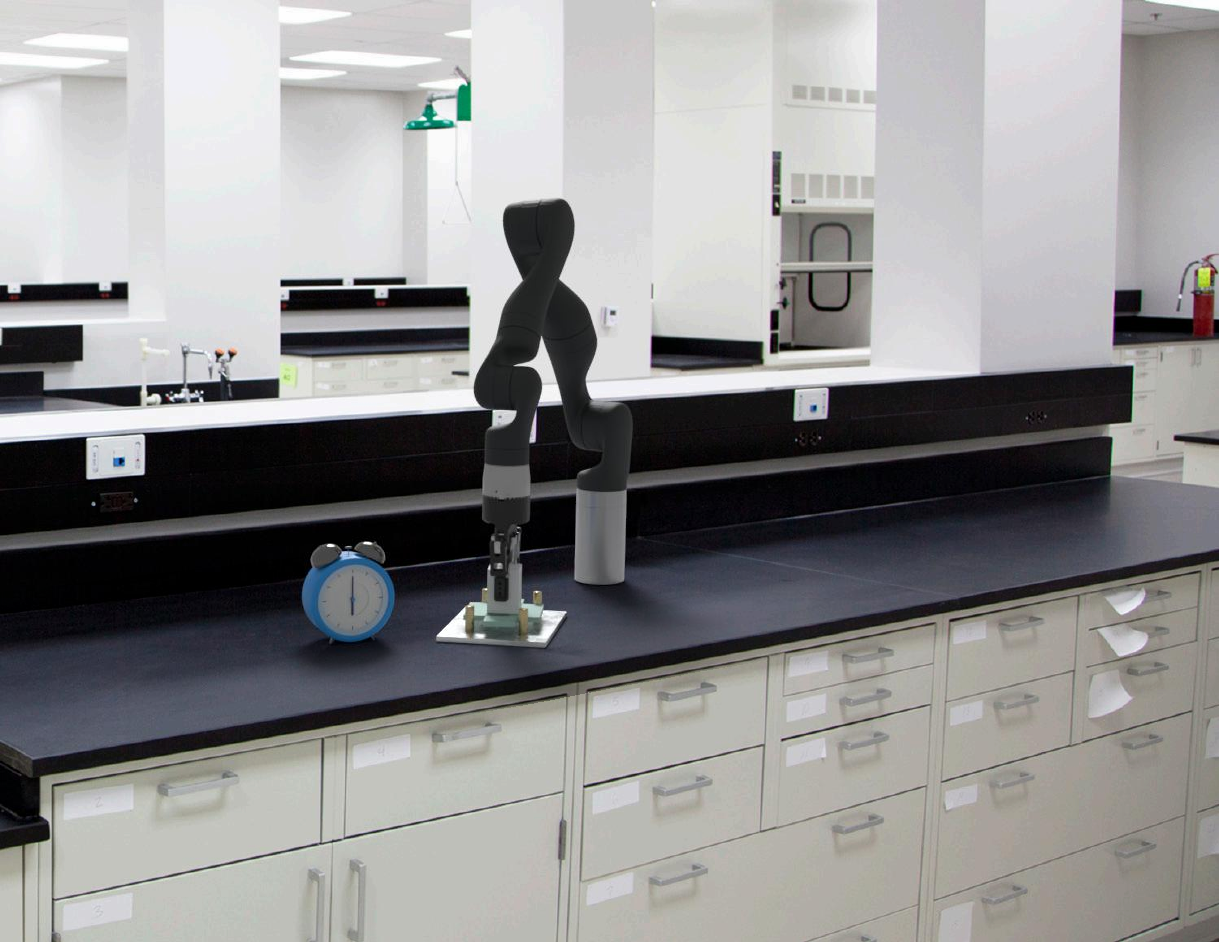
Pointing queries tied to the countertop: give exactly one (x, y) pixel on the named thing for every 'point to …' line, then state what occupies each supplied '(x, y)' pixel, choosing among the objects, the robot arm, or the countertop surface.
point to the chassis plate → (504, 628)
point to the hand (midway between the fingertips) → (504, 596)
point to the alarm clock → (348, 592)
